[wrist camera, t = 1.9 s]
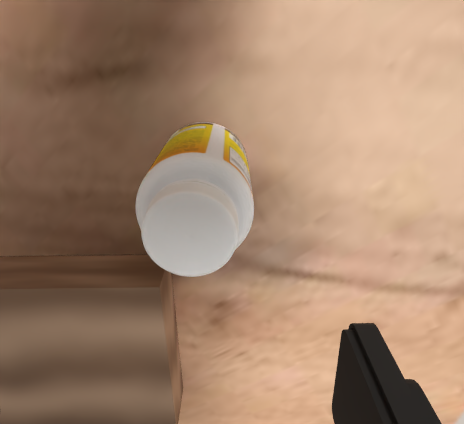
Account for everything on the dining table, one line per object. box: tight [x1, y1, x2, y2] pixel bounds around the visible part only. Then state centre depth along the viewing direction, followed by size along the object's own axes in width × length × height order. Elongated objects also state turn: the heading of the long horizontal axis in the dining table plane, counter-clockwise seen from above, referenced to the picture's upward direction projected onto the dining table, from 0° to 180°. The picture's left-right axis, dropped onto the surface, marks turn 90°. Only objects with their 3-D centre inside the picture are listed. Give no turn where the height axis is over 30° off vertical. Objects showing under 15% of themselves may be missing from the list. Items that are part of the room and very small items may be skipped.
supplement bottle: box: [136, 122, 254, 277], centre depth 19 cm, size 6×6×10 cm
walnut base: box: [0, 255, 183, 424], centre depth 28 cm, size 14×14×4 cm
